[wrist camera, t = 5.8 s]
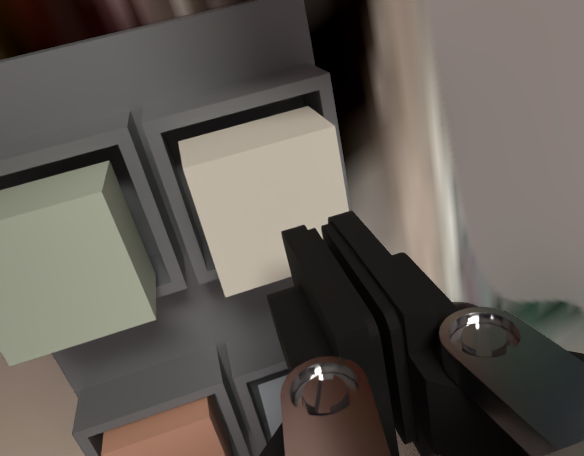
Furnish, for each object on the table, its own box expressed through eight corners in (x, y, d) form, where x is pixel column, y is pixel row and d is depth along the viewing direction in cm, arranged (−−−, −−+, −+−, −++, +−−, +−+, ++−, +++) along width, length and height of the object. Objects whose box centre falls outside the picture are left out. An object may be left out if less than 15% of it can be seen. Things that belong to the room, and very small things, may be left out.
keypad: (-85, 80, 15) (-144, 103, 12) (292, -10, 16) (323, -10, 13) (142, 485, 24) (141, 554, 21) (367, 403, 26) (395, 457, 23)
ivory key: (178, 141, 14) (182, 168, 12) (308, 105, 15) (334, 125, 13) (215, 256, 16) (225, 297, 14) (329, 220, 17) (356, 255, 15)
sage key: (-36, 200, 14) (-72, 240, 11) (109, 160, 14) (101, 191, 12) (29, 313, 15) (10, 366, 13) (155, 274, 16) (156, 319, 14)
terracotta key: (106, 404, 20) (101, 455, 18) (203, 371, 20) (209, 417, 18) (140, 466, 22) (139, 520, 19) (228, 435, 22) (236, 483, 20)
